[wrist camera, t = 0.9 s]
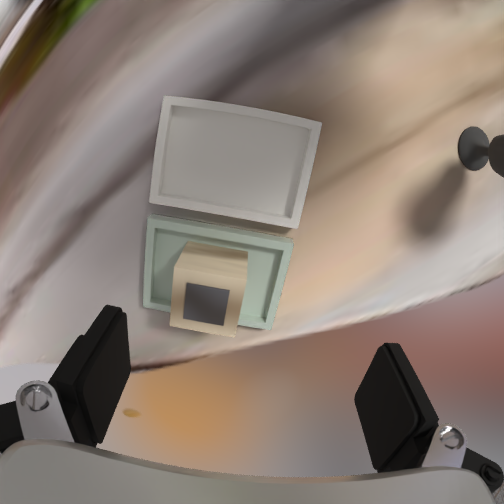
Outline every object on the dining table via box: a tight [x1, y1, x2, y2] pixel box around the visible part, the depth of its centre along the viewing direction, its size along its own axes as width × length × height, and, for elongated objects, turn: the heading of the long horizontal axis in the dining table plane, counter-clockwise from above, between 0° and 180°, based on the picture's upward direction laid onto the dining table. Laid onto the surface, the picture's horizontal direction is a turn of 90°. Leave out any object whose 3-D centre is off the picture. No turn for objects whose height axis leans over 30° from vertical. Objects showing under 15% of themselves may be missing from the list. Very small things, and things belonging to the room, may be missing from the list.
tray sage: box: [143, 214, 294, 330], centre depth 32 cm, size 10×14×2 cm
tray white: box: [149, 95, 322, 229], centre depth 28 cm, size 10×14×2 cm
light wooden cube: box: [170, 241, 248, 338], centre depth 30 cm, size 6×6×6 cm
